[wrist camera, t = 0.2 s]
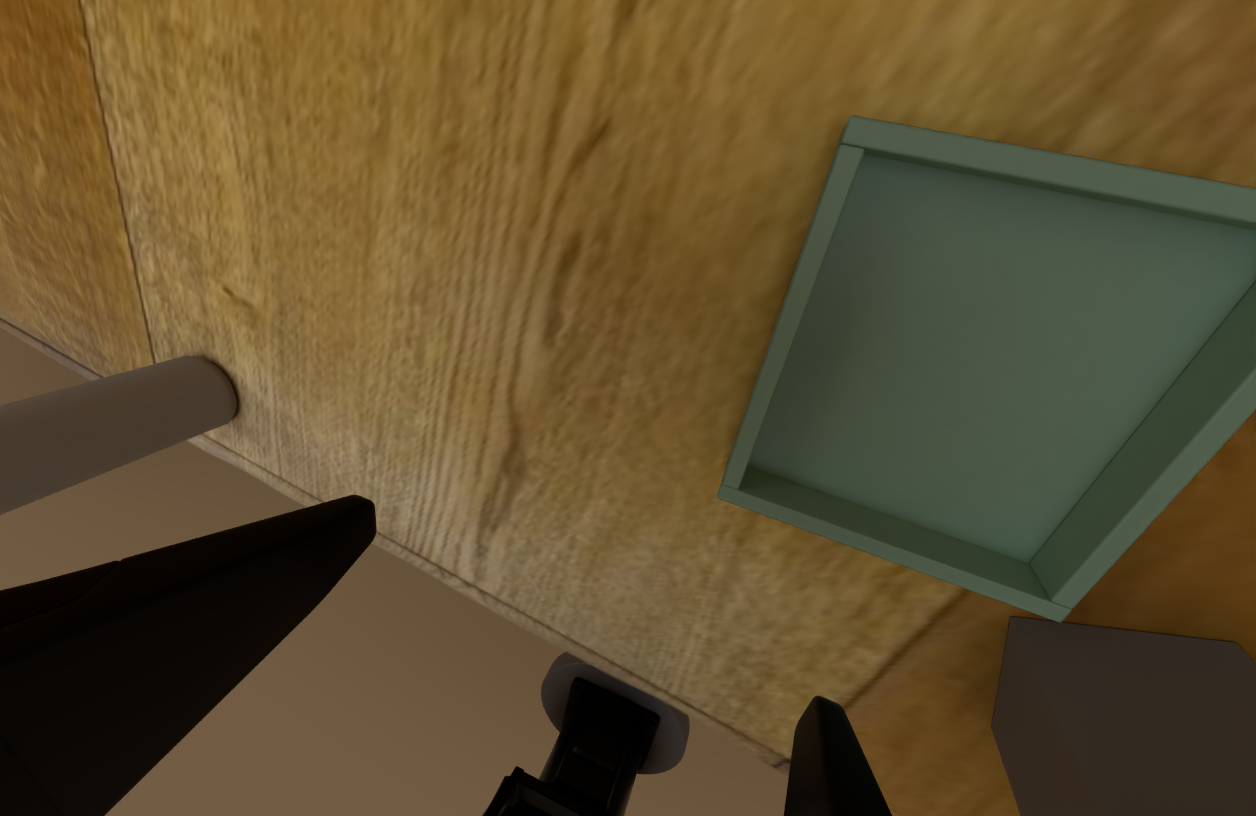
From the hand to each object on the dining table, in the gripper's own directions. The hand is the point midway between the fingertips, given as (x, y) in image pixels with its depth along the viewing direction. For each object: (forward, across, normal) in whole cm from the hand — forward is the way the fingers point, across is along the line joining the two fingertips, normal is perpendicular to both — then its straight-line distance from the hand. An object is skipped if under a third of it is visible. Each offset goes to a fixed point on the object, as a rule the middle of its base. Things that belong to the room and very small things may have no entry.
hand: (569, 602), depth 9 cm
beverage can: (+13, +31, +11) cm, 35 cm away
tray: (+13, -8, -3) cm, 16 cm away
